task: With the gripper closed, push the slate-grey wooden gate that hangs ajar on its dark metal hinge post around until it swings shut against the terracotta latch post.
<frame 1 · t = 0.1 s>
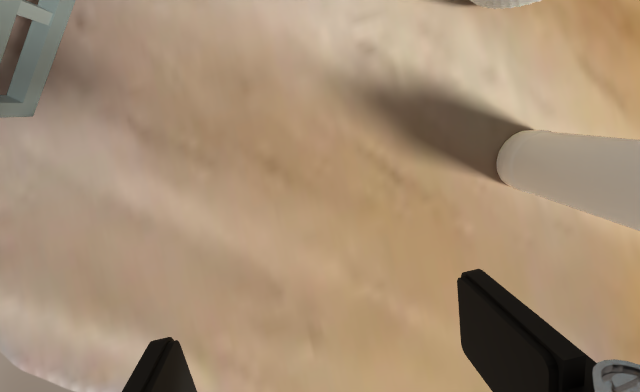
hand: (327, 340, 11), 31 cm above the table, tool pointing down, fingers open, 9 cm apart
gate: (27, 9, 28), point 6 cm above the table, hinge at 50.0°
bottle: (521, 159, 44), on the table
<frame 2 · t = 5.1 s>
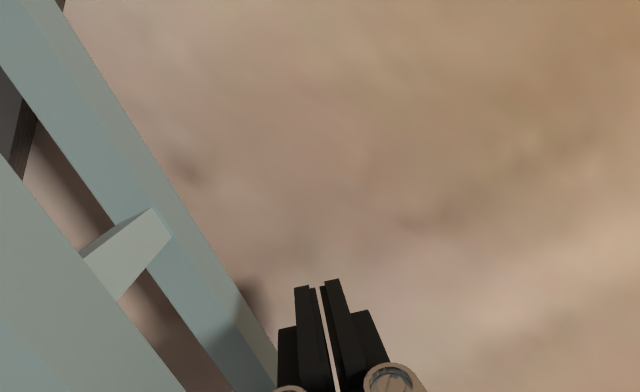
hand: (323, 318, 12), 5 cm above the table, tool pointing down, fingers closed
gate: (116, 256, 9), point 6 cm above the table, hinge at 48.7°, touching gripper
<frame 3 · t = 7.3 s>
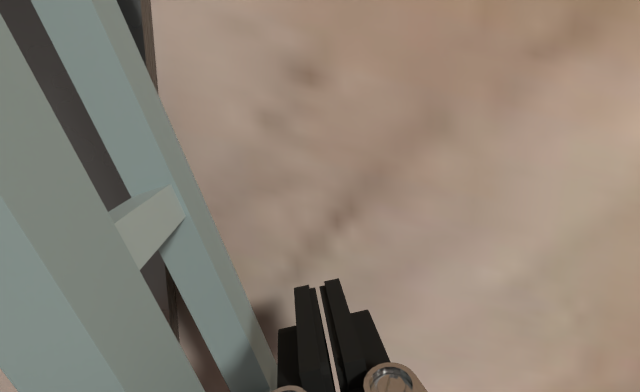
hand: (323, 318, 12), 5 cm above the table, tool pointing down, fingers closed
gate frame: (90, 165, 14), on the table
gate: (135, 227, 9), point 6 cm above the table, hinge at 19.7°, touching gripper
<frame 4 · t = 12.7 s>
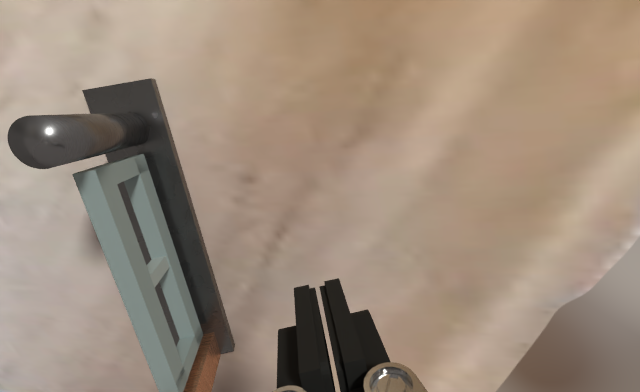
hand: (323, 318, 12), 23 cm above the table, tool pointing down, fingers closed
gate frame: (171, 234, 34), on the table
gate: (153, 273, 29), point 6 cm above the table, hinge at 0.0°
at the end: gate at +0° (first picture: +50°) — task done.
